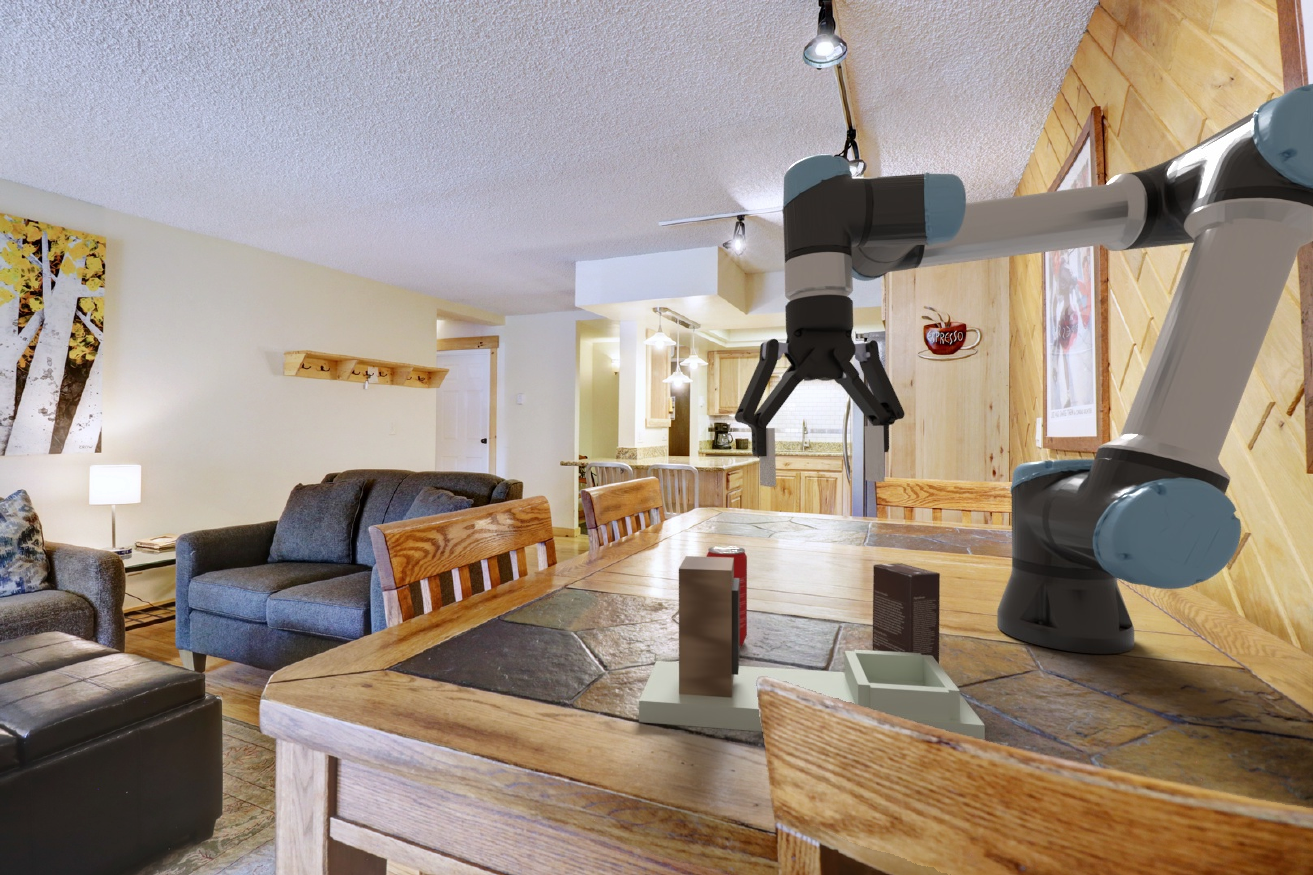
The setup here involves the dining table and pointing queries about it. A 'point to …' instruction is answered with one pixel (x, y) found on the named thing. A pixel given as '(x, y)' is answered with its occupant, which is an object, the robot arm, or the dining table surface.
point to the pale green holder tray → (866, 681)
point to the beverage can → (739, 572)
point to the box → (906, 609)
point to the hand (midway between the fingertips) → (822, 483)
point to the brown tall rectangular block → (708, 626)
